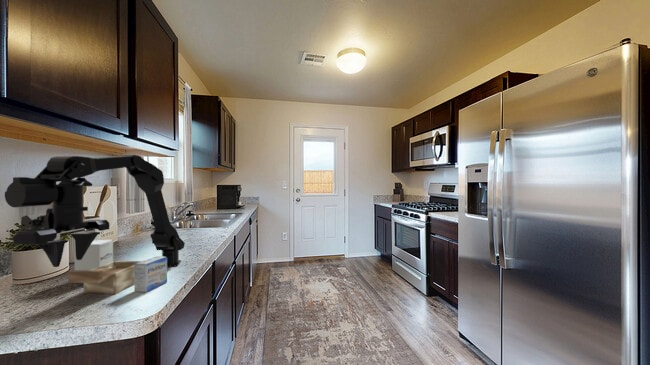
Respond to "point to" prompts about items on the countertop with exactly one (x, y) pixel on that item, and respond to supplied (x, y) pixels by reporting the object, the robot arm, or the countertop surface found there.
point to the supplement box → (96, 255)
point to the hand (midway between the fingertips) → (68, 263)
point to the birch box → (114, 279)
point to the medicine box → (150, 273)
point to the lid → (92, 275)
